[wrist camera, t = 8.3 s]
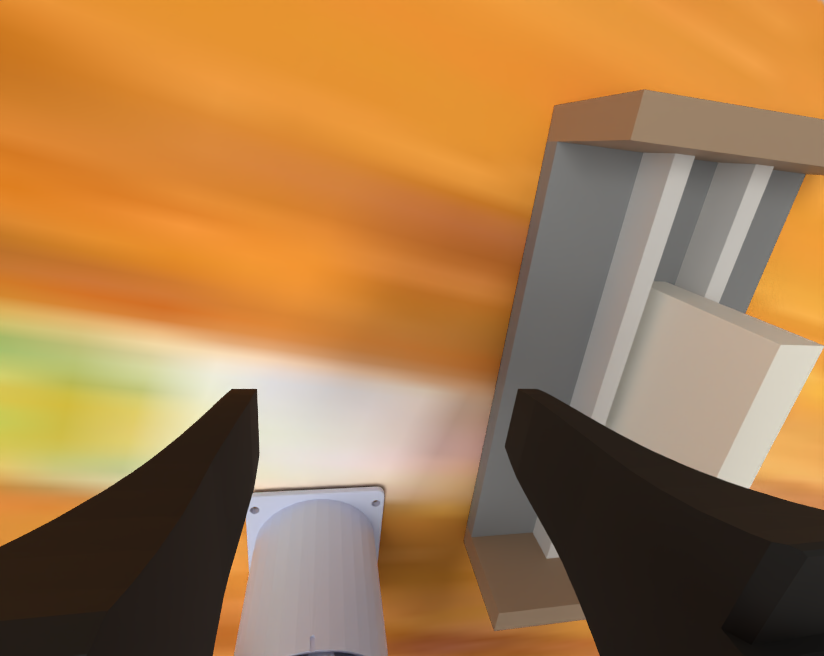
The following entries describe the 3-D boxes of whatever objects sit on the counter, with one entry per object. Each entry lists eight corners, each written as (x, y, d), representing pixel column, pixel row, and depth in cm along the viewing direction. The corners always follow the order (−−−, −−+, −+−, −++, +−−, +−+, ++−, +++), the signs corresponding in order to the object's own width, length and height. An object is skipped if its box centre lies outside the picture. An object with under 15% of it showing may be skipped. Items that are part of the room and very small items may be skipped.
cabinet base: (638, 527, 32) (701, 604, 27) (463, 540, 29) (494, 631, 24) (799, 142, 22) (954, 141, 16) (554, 105, 19) (644, 89, 14)
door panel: (603, 460, 27) (703, 574, 20) (576, 462, 27) (667, 578, 20) (666, 282, 23) (824, 346, 15) (633, 279, 22) (780, 344, 15)
